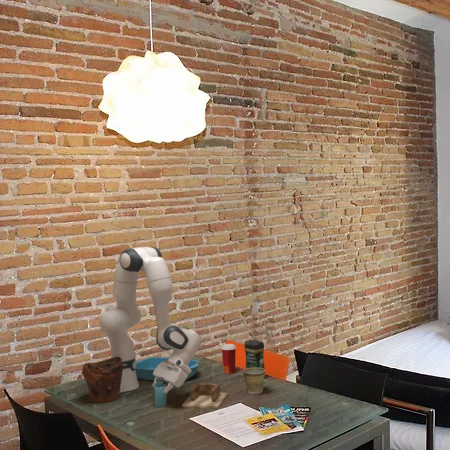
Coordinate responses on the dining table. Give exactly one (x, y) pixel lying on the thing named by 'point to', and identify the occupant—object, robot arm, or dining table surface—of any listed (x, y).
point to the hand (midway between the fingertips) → (158, 389)
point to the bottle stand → (205, 396)
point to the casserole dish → (150, 364)
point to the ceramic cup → (254, 379)
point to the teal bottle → (160, 393)
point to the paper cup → (229, 358)
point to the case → (103, 379)
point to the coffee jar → (254, 354)
